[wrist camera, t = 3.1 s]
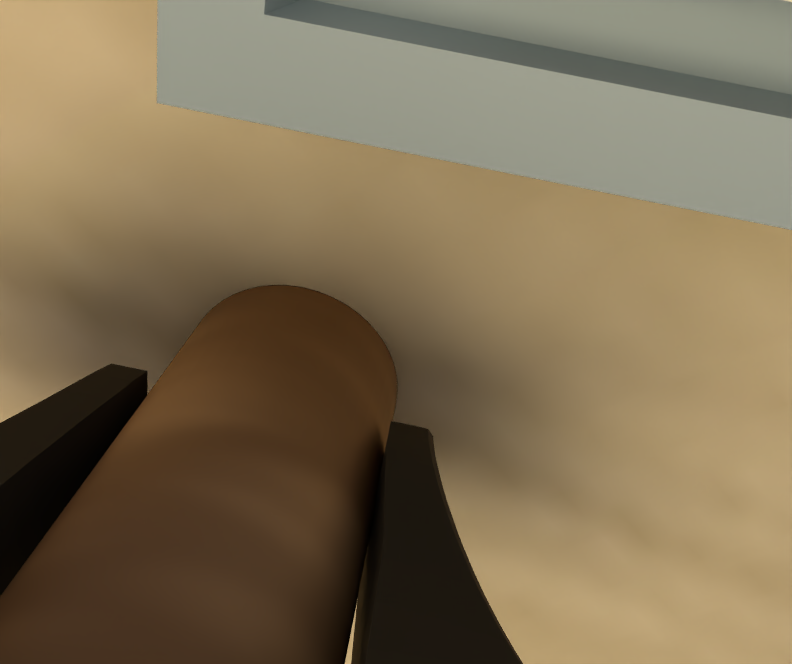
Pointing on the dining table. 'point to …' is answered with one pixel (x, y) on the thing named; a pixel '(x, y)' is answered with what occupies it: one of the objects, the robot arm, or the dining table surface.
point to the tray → (514, 87)
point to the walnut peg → (223, 501)
